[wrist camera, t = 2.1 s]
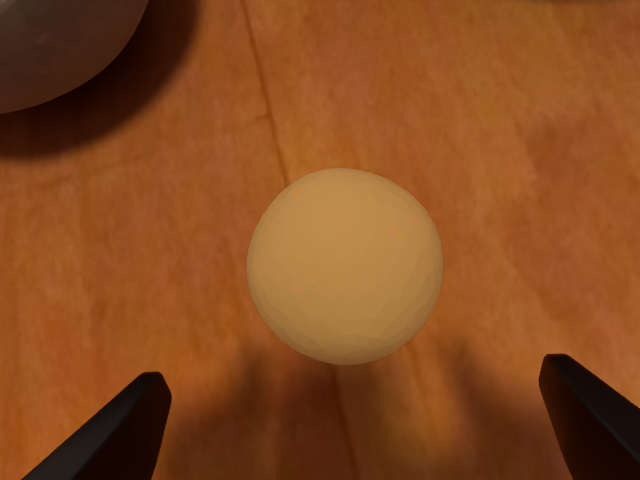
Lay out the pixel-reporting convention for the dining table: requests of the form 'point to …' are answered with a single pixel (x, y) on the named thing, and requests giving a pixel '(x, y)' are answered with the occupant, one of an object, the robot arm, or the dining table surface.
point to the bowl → (59, 45)
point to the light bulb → (345, 266)
